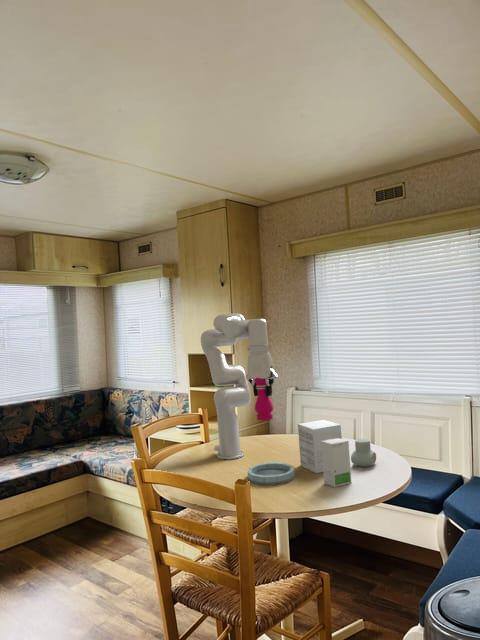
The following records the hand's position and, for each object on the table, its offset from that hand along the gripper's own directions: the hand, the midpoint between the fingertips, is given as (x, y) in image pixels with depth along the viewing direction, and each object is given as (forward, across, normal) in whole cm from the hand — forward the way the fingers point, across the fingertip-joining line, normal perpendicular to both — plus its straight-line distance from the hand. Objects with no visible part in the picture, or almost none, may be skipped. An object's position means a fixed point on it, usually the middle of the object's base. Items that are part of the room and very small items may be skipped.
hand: (263, 395), depth 191 cm
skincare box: (+33, +28, +3) cm, 43 cm away
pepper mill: (+10, 0, 0) cm, 10 cm away
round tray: (+32, +2, -1) cm, 32 cm away
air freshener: (+32, +29, +27) cm, 51 cm away
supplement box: (+32, +14, +19) cm, 40 cm away
